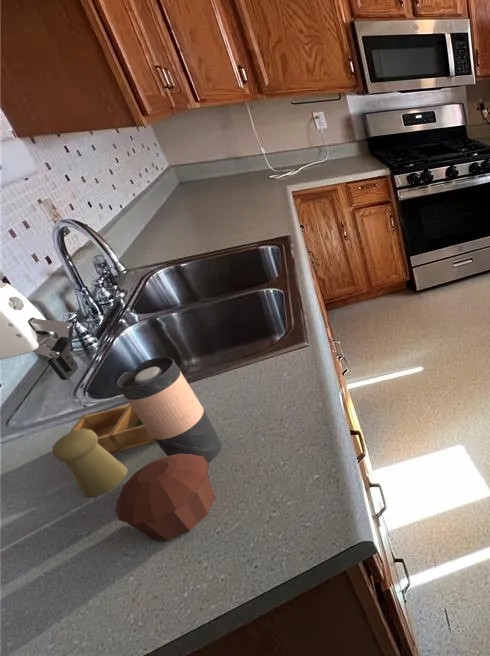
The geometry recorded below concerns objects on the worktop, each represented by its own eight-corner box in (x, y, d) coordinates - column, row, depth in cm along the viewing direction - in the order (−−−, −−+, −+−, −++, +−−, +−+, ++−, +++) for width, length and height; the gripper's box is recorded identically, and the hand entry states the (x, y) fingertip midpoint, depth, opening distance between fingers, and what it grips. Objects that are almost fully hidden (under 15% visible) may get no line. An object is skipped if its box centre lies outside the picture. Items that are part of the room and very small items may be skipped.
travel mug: (218, 463, 74) (165, 378, 65) (168, 480, 72) (106, 394, 62) (227, 432, 80) (180, 350, 71) (181, 446, 78) (127, 364, 69)
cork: (74, 501, 69) (34, 457, 64) (96, 471, 75) (60, 428, 69) (116, 490, 71) (79, 447, 65) (134, 461, 76) (101, 418, 71)
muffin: (120, 558, 60) (81, 517, 56) (161, 489, 70) (131, 449, 65) (208, 538, 62) (177, 496, 57) (236, 473, 72) (212, 433, 67)
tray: (68, 465, 76) (55, 450, 74) (93, 430, 83) (81, 416, 81) (171, 436, 80) (161, 422, 78) (186, 406, 88) (177, 391, 86)
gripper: (48, 262, 61) (111, 353, 69) (-108, 290, 56) (-22, 384, 64) (14, 284, 55) (87, 382, 63) (-166, 319, 50) (-61, 419, 58)
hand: (32, 383), depth 63 cm, fingers open, 9 cm apart
